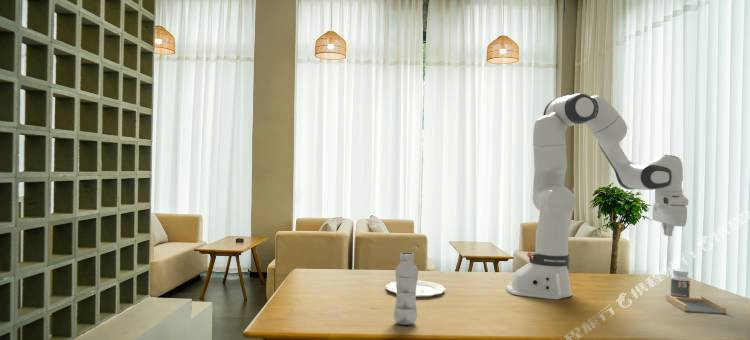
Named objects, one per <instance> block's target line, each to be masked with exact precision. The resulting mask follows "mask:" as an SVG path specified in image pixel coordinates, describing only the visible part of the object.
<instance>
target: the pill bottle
mask: <svg viewBox="0 0 750 340" xmlns="http://www.w3.org/2000/svg"><path fill="white" fill-rule="evenodd" d="M688 275H689V270H686V269H683V268H673V269H672V275H670V289H669V290H670V291H669V295H671V296H672V297H684V298H690V285H691V281H690V277H688Z"/></svg>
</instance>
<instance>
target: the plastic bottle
mask: <svg viewBox="0 0 750 340" xmlns="http://www.w3.org/2000/svg"><path fill="white" fill-rule="evenodd" d="M399 255H400V256H399V260H400V262H399V264H398V265H397V267H396V268H395V271H394V274H395V281H396V287H397V294H396V298H395V306H394V309H393V310H394V311H393V318H394V319H393V320H394V321H395V323H396V324H398V325H401V326H403V325H404V326H409V325H413V324H415V323H416V322H417V320H418V308H417V301H416V300H417V297H416V285H417V280H419V270H418V269H419V268H418V267H417V266H416V264H415V263H414V261H415V258H414V252H408V251H407V252H406V251H405V252H400V254H399Z"/></svg>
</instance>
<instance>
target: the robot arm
mask: <svg viewBox="0 0 750 340" xmlns="http://www.w3.org/2000/svg"><path fill="white" fill-rule="evenodd" d="M581 124H585V125H586V127H587V128H588V130H589V132H591V133H592V135H593V136H594V137H595V139H596V140H597V142H598V146H599V148H600V150H601V151H602V153H603V155H604V156H605V158H606V159H607V161H608V162H609V164H610V166H611V167H612V169H613V171H614V173H615V177H616V180H617V182H618V185H620V187H622V188H623V189H626V190H644V191H645V190H648V191H651V190H653V191H654V202H653V204H652V215H651V216H652V220H653V221H656V222H659V223H661V226H662V230H663V235H664V236H667V237H672V236H673V231H674V229H675V227H685V226H686V224H687V218H688V208H687V206H688V205H689V199H688V198H687V197H685V196H684V194H683V190H684V189H683V187H682V184H683V180H684V179H683V178H684V170H683V162H682V159H681V158H680V157H678V156H676V155H670V154H661V155H660V154H659V155H658V156H657V157H656V158H655V159H653V160H651V161H649V162H646V163H634V162H632V161H631V160H629V158H628V156H627V155H626V153H625V152H624V150H623V148H621V145H620V143H621V142H622V141H623V140H624V139H625V137H626V135H627V134H628V133H627V132H628V125H627V123H626V121H625V119H624V118H623V116H621V114H620V113H619V111H618V110H617V109H616V108H615V107H614V106H613V105H612V104H611V103H610V102H609V101H608V100H607V99H605V98H604V97H603V96H601V95H592V96H591V95H588V94H585V93H579V92H578V93H574V94H570V95H566V94H565V95H562V96H561V97H558V98H554V99H553V100H550V102H548V103H547V104H546V105H545V107H544V110H543V114H542V116H540V117H538V118H537V119H536V120H535V121H534V126H533V134H532V135H533V136H532V147H533V149H532V150H533V163H534V165H533V167H534V169H533V170H534V171H533V173H534V175H533V185H532V186H533V187H532V202H533V203H532V204H533V205H534V207H535V208H536V209H537V210H538V211H539V216H538V217H539V218H538V222H537V227H536V230H535V248H534V249H535V251H534V252H532V251H527V252H526V256H527V258H529V259H528V261H529V262H528V263H526V264H525V265H523V266H521V267H520V268H519V269H516V270H515V272H514V274H513V277H512V281H511V282H509V283H507V284H506V286H505V289H506V291H507V292H508V293H509V294H511V295H515V296H522V297H531V298H540V299H548V300H549V299H551V300H560V299H564V298H568V297H571V296H573V293H572V290H571V289H572V288H571V284H570V278H569V269H570V254H569V235H570V234H569V233H570V227H571V223H572V218H573V213H574V209H576V205H577V204H576V203H577V202H576V201H577V200H576V197H575V195H574V193H573V192H572V191H571V190H570V189H569V188H568V187H566V186H565V178H566V171H567V169H568V161H567V160H568V159H567V157H568V156H567V143H566V131H567V128H568V127H573V126H577V125H581Z"/></svg>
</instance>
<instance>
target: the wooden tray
mask: <svg viewBox="0 0 750 340" xmlns="http://www.w3.org/2000/svg"><path fill="white" fill-rule="evenodd" d="M665 300H667V301H666V302H668V301H669V302H668V303H670V304H671V303H672V305H673V306H674V305H675V306H674V307H677V308H678V309H679V310H681V311H682V312H684V313H699V314H715V315H717V314H718V315H727V307H725V306H723V305H721V304H719V303H717V302H716V301H714V300H711V299H710V298H708V297H706V296H701V298H698V297H689V298H684V297H672V296H671V295H670V294H666V295H665Z"/></svg>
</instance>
